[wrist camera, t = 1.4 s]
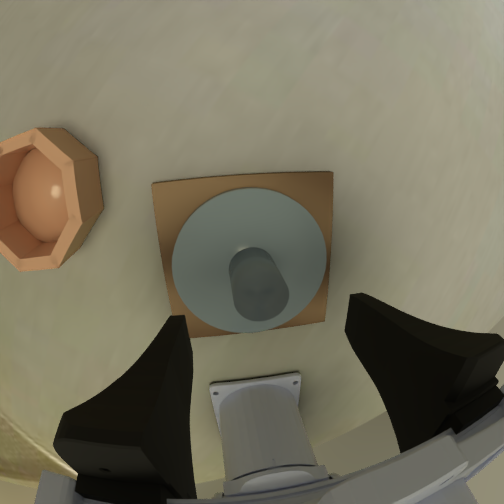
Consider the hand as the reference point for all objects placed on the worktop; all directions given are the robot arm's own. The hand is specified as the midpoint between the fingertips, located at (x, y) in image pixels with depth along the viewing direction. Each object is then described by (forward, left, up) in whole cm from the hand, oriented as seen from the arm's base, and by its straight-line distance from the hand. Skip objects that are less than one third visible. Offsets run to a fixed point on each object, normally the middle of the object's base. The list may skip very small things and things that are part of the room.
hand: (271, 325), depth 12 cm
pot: (+6, +13, -8) cm, 16 cm away
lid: (0, 0, -7) cm, 7 cm away
